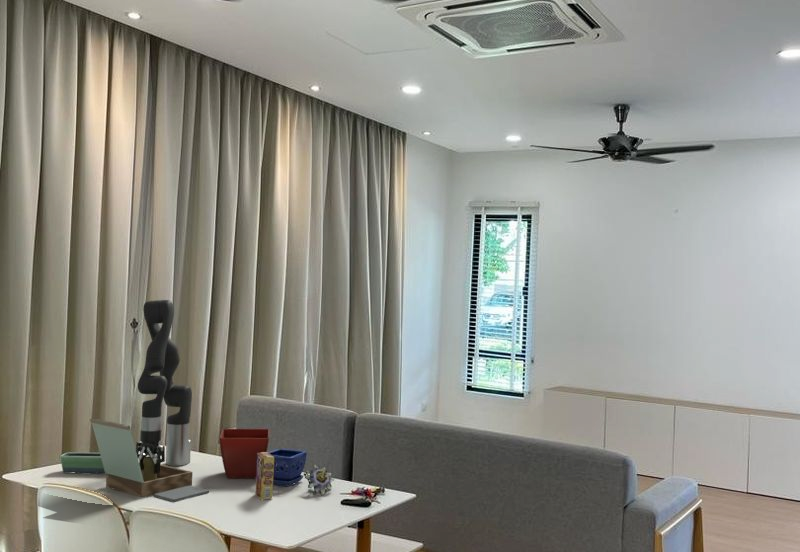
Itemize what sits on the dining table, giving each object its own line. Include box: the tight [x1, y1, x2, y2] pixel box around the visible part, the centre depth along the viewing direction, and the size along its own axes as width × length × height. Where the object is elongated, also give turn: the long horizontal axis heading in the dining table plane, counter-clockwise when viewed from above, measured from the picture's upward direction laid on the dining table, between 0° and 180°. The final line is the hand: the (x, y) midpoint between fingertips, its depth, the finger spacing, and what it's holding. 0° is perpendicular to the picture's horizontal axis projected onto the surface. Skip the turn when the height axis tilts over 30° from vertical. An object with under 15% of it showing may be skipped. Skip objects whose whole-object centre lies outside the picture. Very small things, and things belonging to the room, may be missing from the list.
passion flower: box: [303, 464, 335, 495], centre depth 287 cm, size 11×11×12 cm
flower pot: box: [267, 448, 307, 487], centre depth 298 cm, size 13×13×12 cm
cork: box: [143, 455, 158, 482], centre depth 288 cm, size 6×6×11 cm
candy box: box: [255, 451, 274, 501], centre depth 278 cm, size 9×4×15 cm, turn 26°
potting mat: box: [153, 485, 210, 503], centre depth 278 cm, size 16×11×1 cm
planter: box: [59, 451, 107, 475], centre depth 307 cm, size 28×7×7 cm, turn 92°
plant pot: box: [219, 428, 270, 479], centre depth 309 cm, size 19×19×17 cm
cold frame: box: [105, 464, 193, 498], centre depth 288 cm, size 22×22×5 cm
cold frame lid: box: [89, 418, 144, 483], centre depth 276 cm, size 22×22×1 cm
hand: (149, 471), depth 288 cm, fingers open, 8 cm apart
